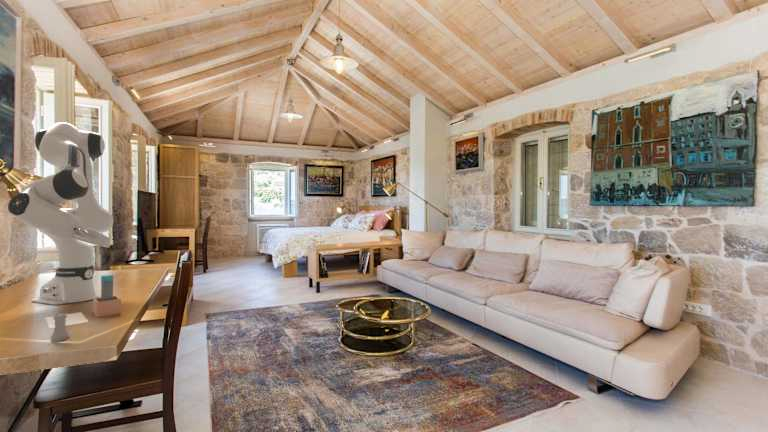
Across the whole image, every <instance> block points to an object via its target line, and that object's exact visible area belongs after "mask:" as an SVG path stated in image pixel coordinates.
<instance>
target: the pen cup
mask: <svg viewBox="0 0 768 432" xmlns="http://www.w3.org/2000/svg"><path fill="white" fill-rule="evenodd" d="M121 311H122V299H121V297H119V296H118V295H113V300H107V301H101V297H97V298H94V299H92V314H93V315H94V316H95V317H96V318H99V317H106V316H112V315H117V314H118V315H119V314H121V313H122V312H121Z"/></svg>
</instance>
